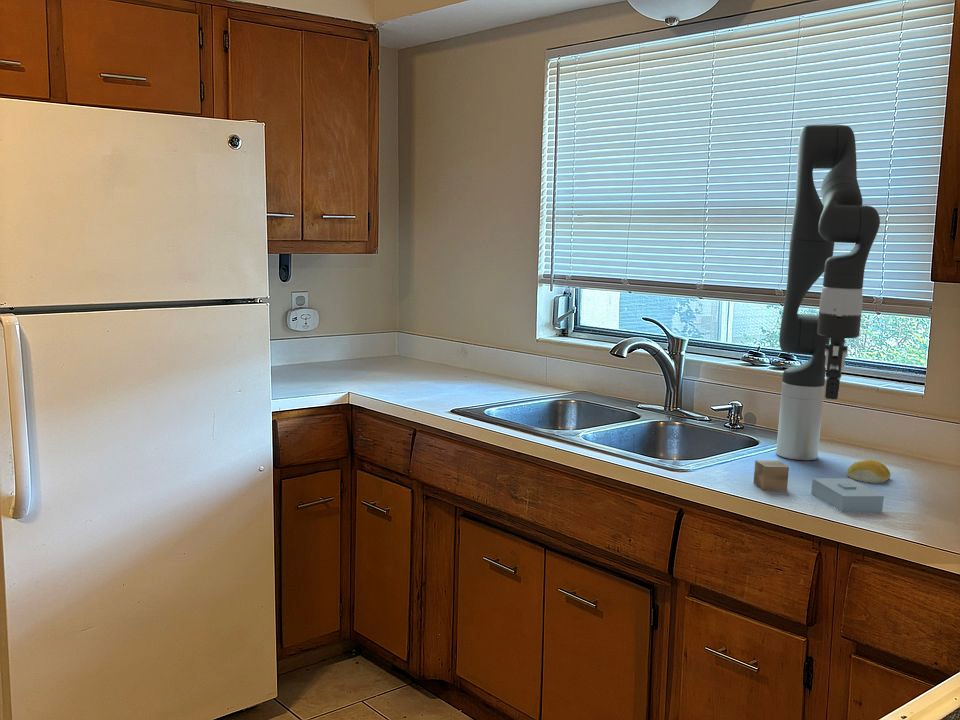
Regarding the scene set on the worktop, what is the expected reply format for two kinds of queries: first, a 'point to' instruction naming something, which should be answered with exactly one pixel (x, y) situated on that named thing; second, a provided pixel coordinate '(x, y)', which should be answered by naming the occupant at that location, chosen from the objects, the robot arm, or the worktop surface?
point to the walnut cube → (771, 475)
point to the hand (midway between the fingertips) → (831, 394)
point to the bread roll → (869, 471)
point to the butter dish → (847, 495)
